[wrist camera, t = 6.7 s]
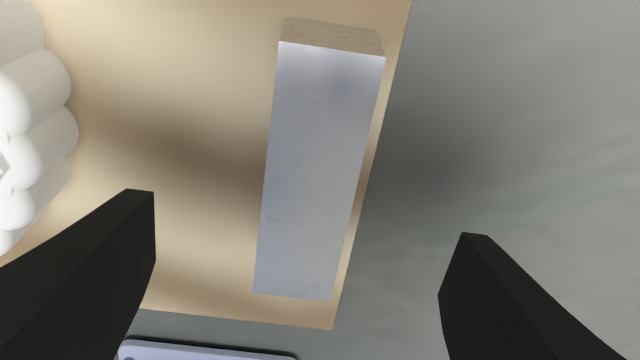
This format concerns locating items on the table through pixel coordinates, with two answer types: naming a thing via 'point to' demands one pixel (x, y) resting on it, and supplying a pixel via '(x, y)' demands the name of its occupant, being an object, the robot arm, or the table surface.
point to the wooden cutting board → (228, 141)
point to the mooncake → (30, 122)
